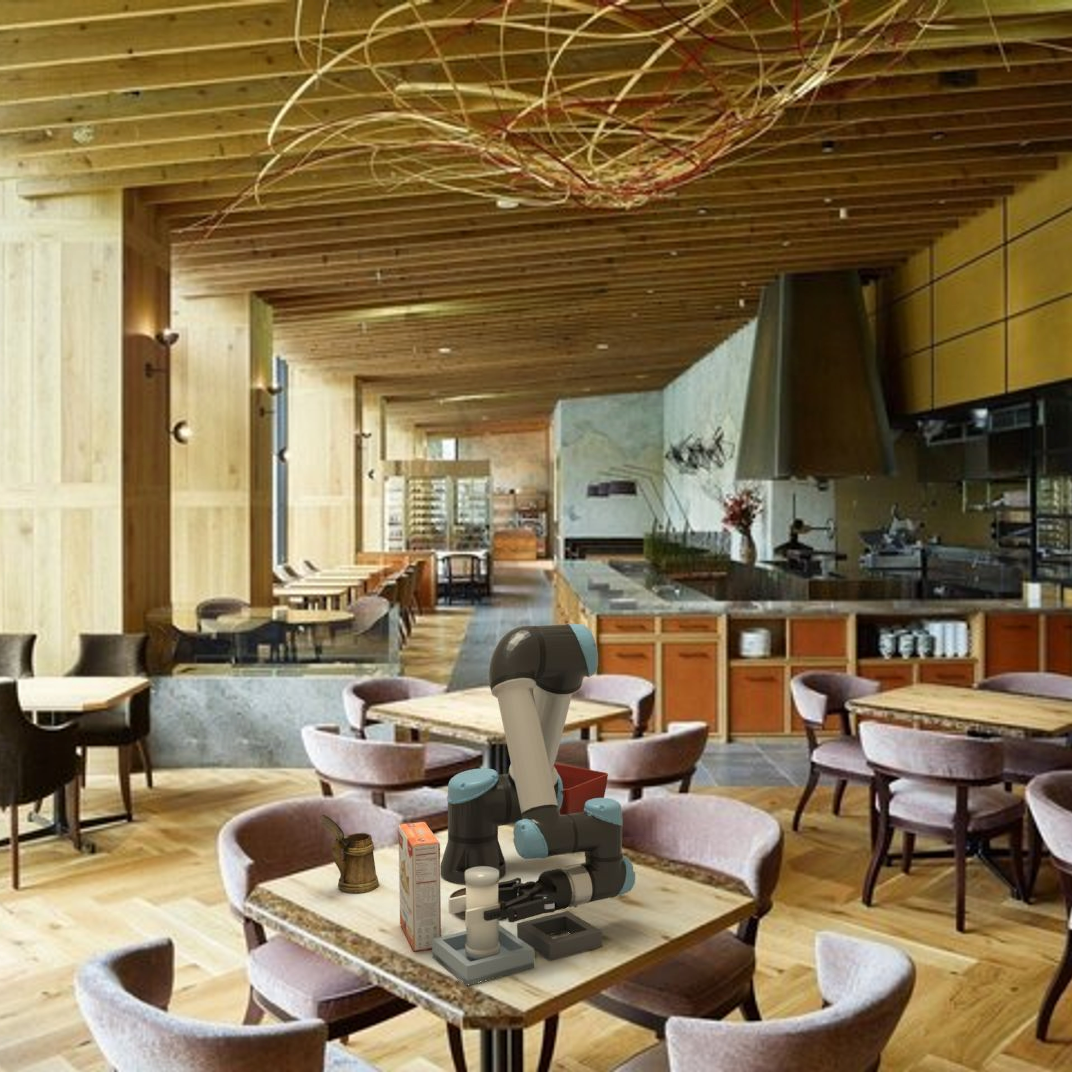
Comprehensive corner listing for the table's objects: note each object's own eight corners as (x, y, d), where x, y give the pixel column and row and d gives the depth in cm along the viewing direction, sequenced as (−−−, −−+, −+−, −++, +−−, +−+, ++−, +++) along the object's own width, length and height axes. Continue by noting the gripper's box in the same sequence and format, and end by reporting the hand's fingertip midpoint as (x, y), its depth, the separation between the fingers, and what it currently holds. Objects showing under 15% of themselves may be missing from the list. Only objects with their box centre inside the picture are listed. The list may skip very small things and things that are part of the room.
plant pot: (566, 857, 252) (566, 788, 251) (505, 842, 263) (505, 776, 263) (610, 837, 267) (609, 772, 267) (550, 824, 279) (550, 762, 278)
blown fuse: (459, 949, 194) (458, 870, 194) (489, 942, 198) (488, 864, 197) (475, 962, 189) (475, 880, 188) (506, 954, 192) (505, 874, 192)
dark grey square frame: (517, 938, 204) (517, 923, 204) (567, 925, 210) (568, 910, 210) (549, 960, 194) (549, 944, 194) (602, 946, 200) (602, 931, 200)
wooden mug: (312, 891, 230) (312, 810, 230) (364, 876, 239) (364, 798, 239) (333, 902, 224) (333, 819, 223) (386, 886, 233) (385, 807, 232)
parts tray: (432, 957, 196) (432, 938, 196) (496, 940, 203) (496, 923, 203) (467, 986, 184) (466, 966, 184) (534, 967, 191) (534, 948, 191)
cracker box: (397, 925, 211) (397, 823, 210) (426, 921, 213) (426, 820, 212) (411, 953, 198) (410, 844, 197) (442, 948, 199) (441, 841, 199)
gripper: (591, 923, 195) (482, 951, 182) (537, 891, 211) (435, 915, 199) (590, 883, 194) (482, 908, 182) (537, 855, 210) (434, 876, 198)
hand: (458, 912), depth 190 cm, fingers closed on blown fuse, 6 cm apart
